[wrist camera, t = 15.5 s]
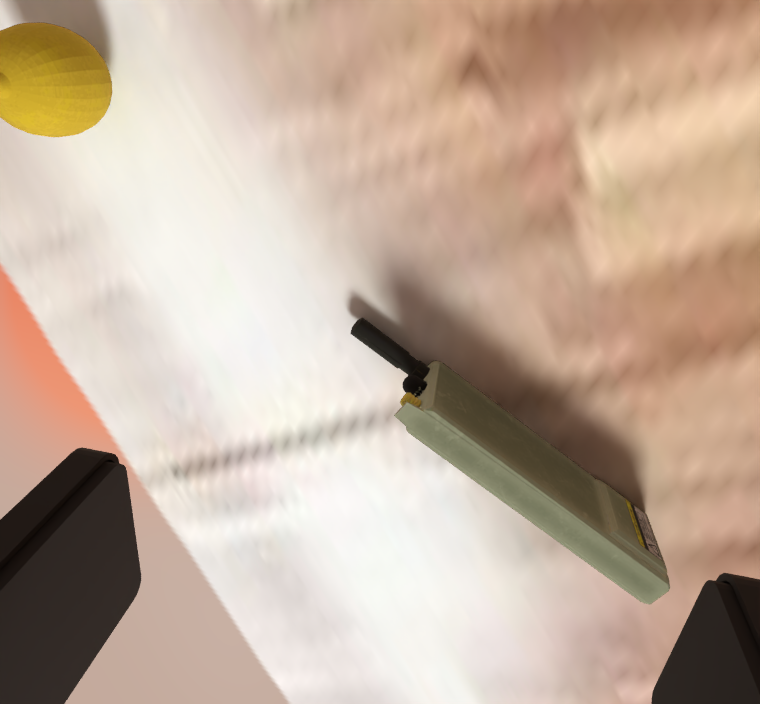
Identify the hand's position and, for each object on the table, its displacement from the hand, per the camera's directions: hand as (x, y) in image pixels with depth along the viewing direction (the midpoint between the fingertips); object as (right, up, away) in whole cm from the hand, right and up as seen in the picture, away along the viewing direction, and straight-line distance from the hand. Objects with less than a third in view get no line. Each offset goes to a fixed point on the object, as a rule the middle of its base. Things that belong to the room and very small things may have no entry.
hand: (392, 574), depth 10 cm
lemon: (-17, +20, +26) cm, 37 cm away
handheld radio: (+8, -1, +32) cm, 33 cm away
